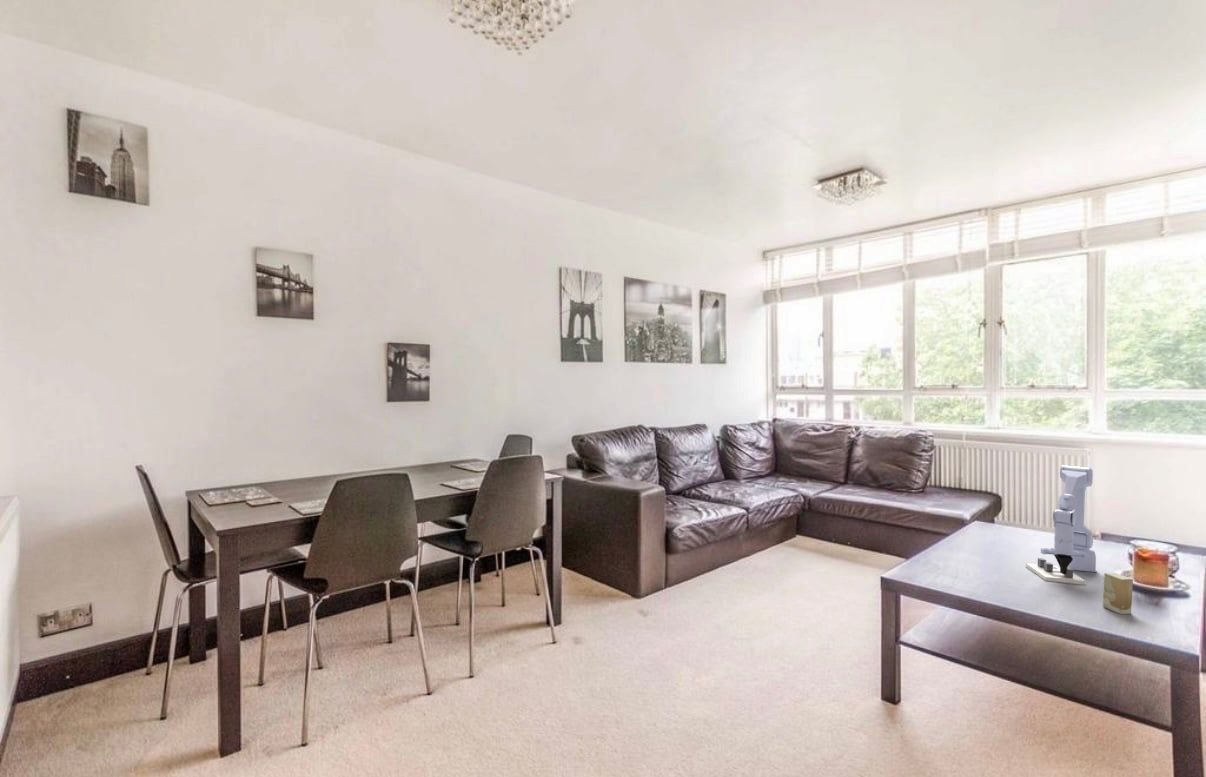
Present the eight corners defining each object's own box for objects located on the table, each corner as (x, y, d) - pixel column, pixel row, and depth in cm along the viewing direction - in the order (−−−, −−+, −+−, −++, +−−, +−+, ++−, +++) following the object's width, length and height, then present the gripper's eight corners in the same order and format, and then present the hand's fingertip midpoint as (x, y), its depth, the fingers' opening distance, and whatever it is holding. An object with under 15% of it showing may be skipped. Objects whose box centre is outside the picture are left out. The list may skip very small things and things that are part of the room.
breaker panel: (1062, 570, 226) (1062, 559, 226) (1085, 584, 210) (1085, 572, 210) (1025, 566, 230) (1026, 555, 230) (1045, 580, 213) (1045, 568, 213)
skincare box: (1102, 606, 189) (1102, 572, 188) (1113, 606, 189) (1113, 572, 189) (1121, 614, 182) (1121, 579, 182) (1132, 614, 183) (1133, 578, 182)
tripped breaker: (1069, 575, 214) (1069, 567, 214) (1072, 577, 212) (1073, 569, 212) (1063, 575, 215) (1063, 567, 215) (1066, 577, 213) (1067, 569, 213)
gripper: (1047, 540, 212) (1046, 574, 212) (1091, 544, 208) (1090, 579, 208) (1038, 535, 219) (1037, 568, 219) (1081, 539, 215) (1080, 572, 215)
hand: (1063, 573), depth 214 cm, fingers closed
